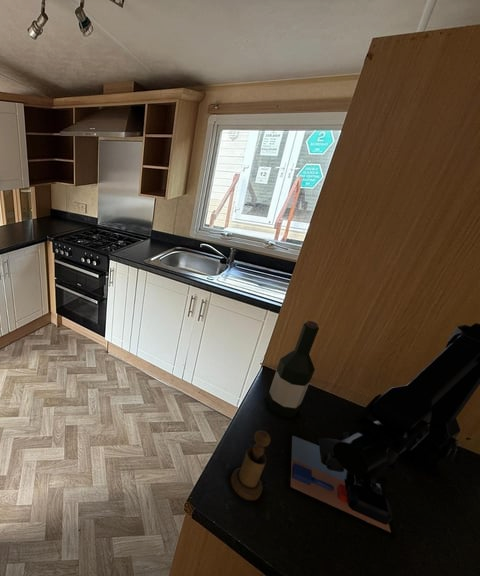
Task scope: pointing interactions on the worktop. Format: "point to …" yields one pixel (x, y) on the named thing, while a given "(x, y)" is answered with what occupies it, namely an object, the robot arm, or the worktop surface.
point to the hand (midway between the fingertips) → (348, 496)
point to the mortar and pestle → (251, 469)
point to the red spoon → (342, 493)
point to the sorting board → (322, 478)
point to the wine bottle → (293, 374)
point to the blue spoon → (307, 477)
